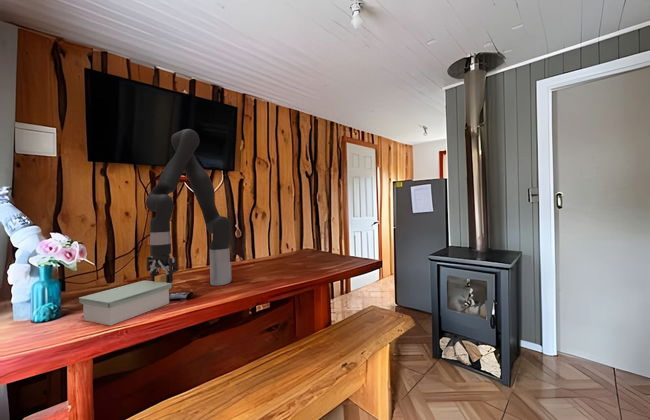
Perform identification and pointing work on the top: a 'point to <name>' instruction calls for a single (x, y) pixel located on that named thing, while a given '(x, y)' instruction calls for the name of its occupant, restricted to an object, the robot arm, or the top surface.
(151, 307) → the tub
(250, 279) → the top surface
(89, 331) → the top surface
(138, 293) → the lid
